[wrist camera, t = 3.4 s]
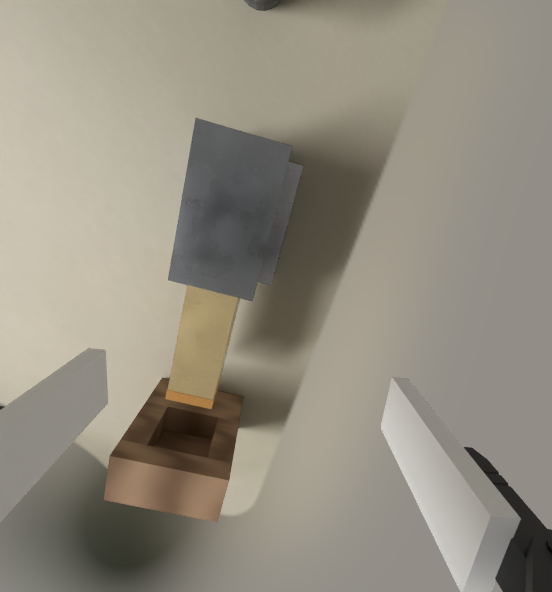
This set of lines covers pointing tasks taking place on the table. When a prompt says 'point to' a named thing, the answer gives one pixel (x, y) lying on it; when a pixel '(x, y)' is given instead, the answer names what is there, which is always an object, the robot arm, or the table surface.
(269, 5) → the beverage cup
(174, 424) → the socket block
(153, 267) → the table surface
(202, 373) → the rail
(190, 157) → the sleeve
